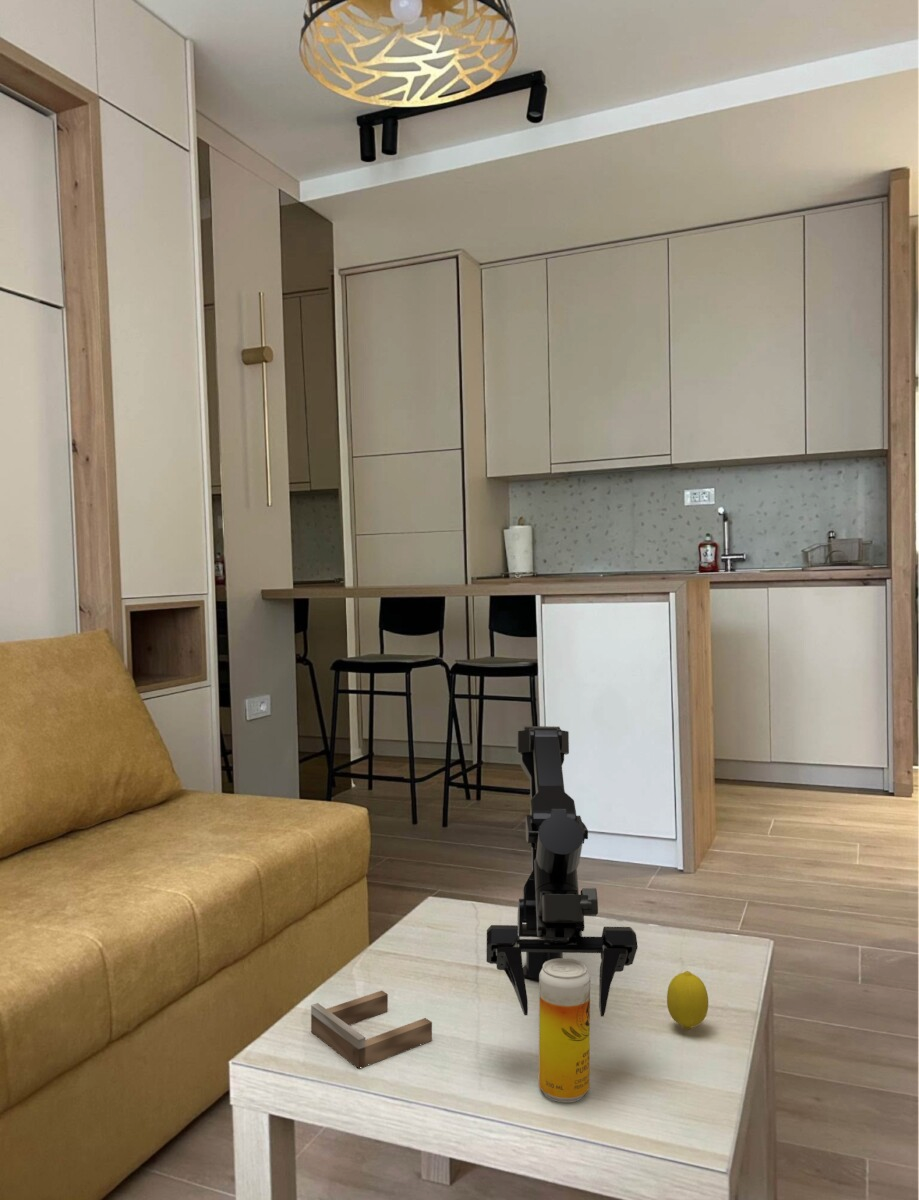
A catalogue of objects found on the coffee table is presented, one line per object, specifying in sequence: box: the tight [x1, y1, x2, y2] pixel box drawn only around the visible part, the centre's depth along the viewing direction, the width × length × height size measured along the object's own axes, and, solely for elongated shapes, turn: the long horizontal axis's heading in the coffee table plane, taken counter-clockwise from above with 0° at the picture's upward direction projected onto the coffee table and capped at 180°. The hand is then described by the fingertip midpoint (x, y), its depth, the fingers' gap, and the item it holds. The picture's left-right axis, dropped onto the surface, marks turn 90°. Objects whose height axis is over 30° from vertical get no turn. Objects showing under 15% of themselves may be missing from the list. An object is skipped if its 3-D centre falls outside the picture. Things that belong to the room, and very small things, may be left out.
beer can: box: [538, 957, 591, 1104], centre depth 109 cm, size 6×6×15 cm
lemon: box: [666, 970, 709, 1031], centre depth 124 cm, size 6×6×8 cm
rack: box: [310, 990, 433, 1069], centre depth 122 cm, size 12×12×4 cm
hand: (564, 1014), depth 109 cm, fingers open, 9 cm apart
